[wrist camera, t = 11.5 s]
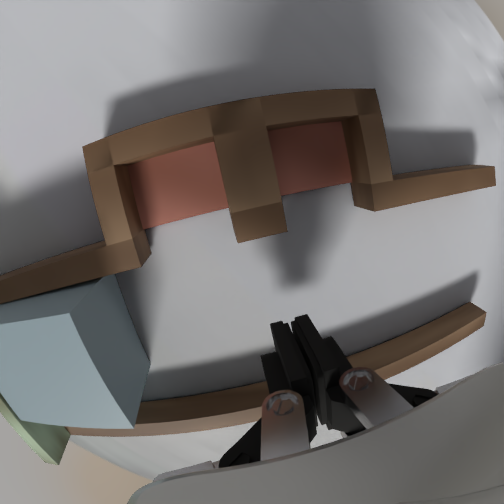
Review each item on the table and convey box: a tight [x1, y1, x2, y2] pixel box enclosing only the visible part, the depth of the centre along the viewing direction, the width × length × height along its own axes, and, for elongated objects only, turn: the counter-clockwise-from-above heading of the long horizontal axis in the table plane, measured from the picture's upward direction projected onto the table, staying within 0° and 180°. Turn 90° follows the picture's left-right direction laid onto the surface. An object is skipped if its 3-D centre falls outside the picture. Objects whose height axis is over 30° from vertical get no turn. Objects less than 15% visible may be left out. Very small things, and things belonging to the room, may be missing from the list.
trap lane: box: [0, 89, 496, 465], centre depth 11 cm, size 16×32×5 cm, turn 102°
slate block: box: [0, 274, 151, 429], centre depth 11 cm, size 6×8×5 cm
